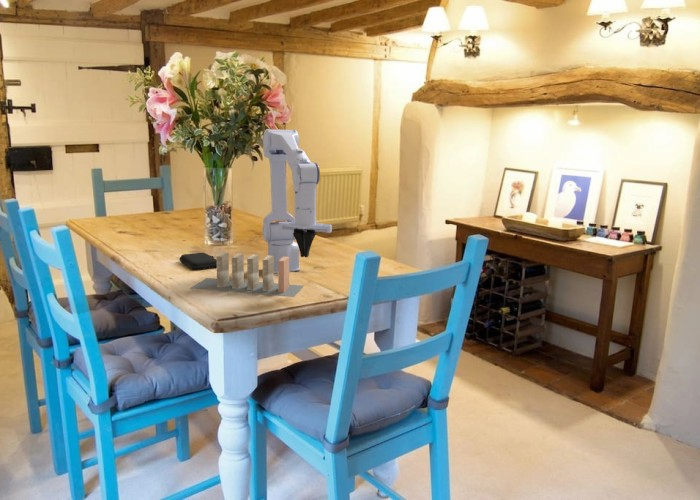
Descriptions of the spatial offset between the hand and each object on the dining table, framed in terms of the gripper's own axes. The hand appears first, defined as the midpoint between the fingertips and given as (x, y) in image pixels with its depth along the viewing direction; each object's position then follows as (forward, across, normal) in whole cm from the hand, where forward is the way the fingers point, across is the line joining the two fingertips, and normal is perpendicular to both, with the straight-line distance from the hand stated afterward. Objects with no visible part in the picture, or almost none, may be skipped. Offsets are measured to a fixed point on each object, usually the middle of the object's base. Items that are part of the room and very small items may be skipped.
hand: (304, 256), depth 161 cm
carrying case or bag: (+11, -40, +20) cm, 46 cm away
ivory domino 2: (+10, -20, 0) cm, 22 cm away
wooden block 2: (+10, -10, 0) cm, 15 cm away
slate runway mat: (+10, -16, 0) cm, 20 cm away
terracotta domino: (+10, -6, 0) cm, 12 cm away
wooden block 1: (+10, -15, 0) cm, 18 cm away
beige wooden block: (+10, -24, 0) cm, 26 cm away
